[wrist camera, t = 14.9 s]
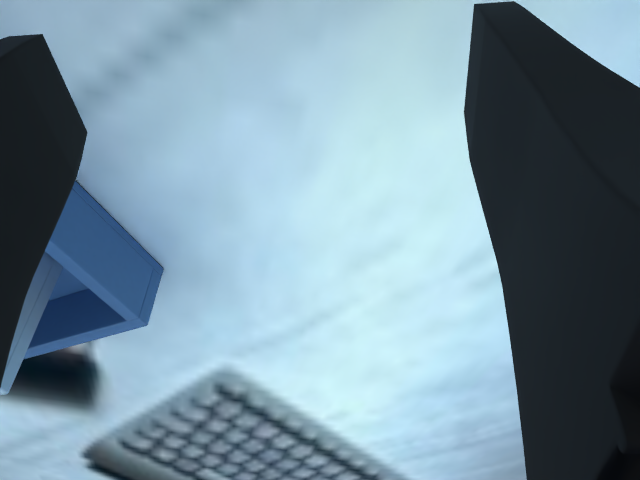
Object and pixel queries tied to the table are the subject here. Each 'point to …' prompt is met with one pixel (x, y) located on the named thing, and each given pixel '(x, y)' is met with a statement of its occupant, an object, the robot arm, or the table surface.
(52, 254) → the steel blue bin
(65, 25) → the table surface
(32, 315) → the pale blue bin
